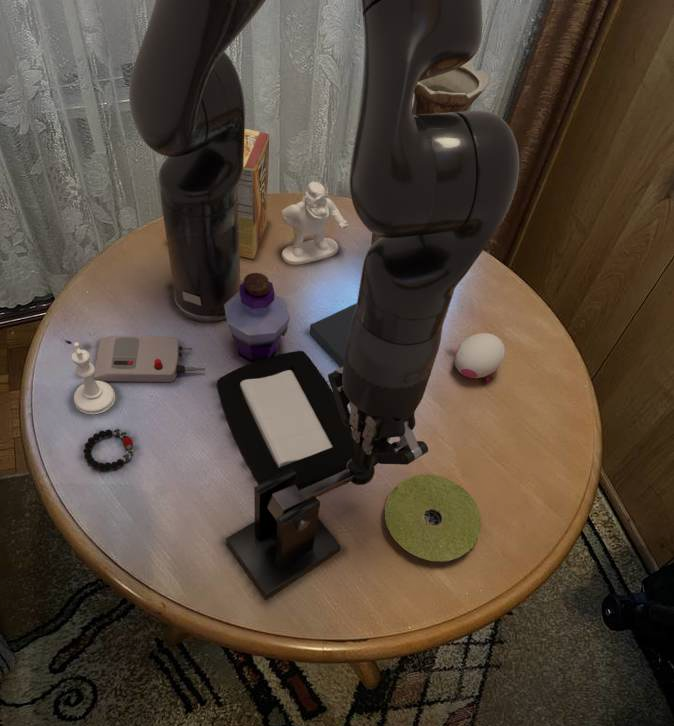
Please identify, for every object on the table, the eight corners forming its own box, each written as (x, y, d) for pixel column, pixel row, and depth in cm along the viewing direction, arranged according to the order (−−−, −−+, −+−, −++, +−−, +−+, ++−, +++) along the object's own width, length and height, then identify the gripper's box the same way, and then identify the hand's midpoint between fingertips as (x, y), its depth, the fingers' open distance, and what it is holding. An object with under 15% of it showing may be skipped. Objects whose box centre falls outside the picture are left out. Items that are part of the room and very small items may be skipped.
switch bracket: (299, 499, 77) (305, 443, 67) (340, 550, 73) (352, 499, 64) (226, 543, 73) (220, 490, 63) (266, 599, 69) (267, 553, 60)
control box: (309, 333, 91) (311, 315, 88) (359, 309, 95) (362, 291, 92) (361, 389, 87) (365, 372, 84) (412, 362, 90) (417, 345, 87)
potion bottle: (300, 356, 89) (306, 290, 79) (246, 381, 85) (244, 315, 76) (267, 316, 92) (268, 248, 82) (213, 339, 89) (207, 270, 79)
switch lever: (357, 464, 73) (366, 445, 71) (375, 484, 72) (384, 466, 70) (263, 506, 66) (269, 487, 63) (280, 530, 64) (288, 511, 62)
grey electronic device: (87, 343, 86) (82, 327, 84) (207, 344, 88) (205, 329, 86) (79, 381, 83) (74, 366, 80) (205, 382, 85) (203, 367, 82)
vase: (352, 276, 99) (384, 72, 74) (390, 242, 104) (431, 41, 79) (410, 308, 96) (464, 108, 71) (445, 271, 101) (506, 73, 77)
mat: (362, 512, 76) (364, 504, 75) (432, 467, 81) (435, 458, 79) (426, 586, 72) (429, 580, 70) (496, 534, 77) (501, 526, 75)
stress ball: (473, 364, 96) (464, 322, 92) (519, 370, 90) (511, 326, 86) (440, 388, 92) (429, 345, 89) (485, 396, 86) (476, 351, 83)
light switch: (206, 371, 83) (306, 337, 86) (209, 385, 86) (306, 351, 89) (262, 497, 74) (372, 454, 77) (264, 508, 76) (370, 466, 80)
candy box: (242, 219, 104) (240, 126, 91) (268, 224, 103) (270, 132, 91) (228, 255, 99) (224, 162, 86) (255, 260, 99) (255, 168, 86)
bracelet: (140, 462, 77) (139, 458, 76) (91, 478, 75) (89, 474, 74) (126, 426, 80) (124, 421, 79) (79, 441, 78) (77, 436, 77)
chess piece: (80, 419, 80) (59, 365, 71) (69, 390, 82) (48, 335, 74) (120, 407, 81) (104, 353, 73) (108, 378, 83) (92, 323, 75)
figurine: (293, 275, 98) (297, 206, 88) (275, 248, 101) (277, 178, 91) (347, 261, 101) (356, 192, 91) (328, 234, 104) (335, 166, 94)
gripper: (476, 383, 54) (431, 489, 68) (376, 288, 59) (354, 405, 73) (408, 424, 51) (376, 525, 65) (309, 320, 56) (299, 435, 70)
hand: (364, 461), depth 69 cm, fingers closed
